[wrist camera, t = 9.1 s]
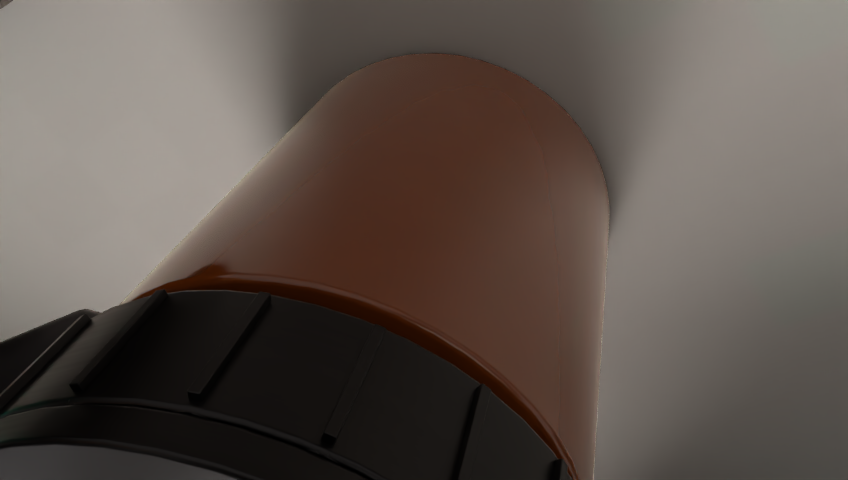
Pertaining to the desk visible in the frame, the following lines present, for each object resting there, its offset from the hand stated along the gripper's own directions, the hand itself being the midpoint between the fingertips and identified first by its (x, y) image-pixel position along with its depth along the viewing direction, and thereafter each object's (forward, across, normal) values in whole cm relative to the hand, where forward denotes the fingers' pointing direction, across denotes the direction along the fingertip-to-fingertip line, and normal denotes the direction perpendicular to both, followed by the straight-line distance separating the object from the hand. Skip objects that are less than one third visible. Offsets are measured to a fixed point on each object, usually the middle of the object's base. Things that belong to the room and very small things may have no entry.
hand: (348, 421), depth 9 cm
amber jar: (+6, 0, 0) cm, 6 cm away
